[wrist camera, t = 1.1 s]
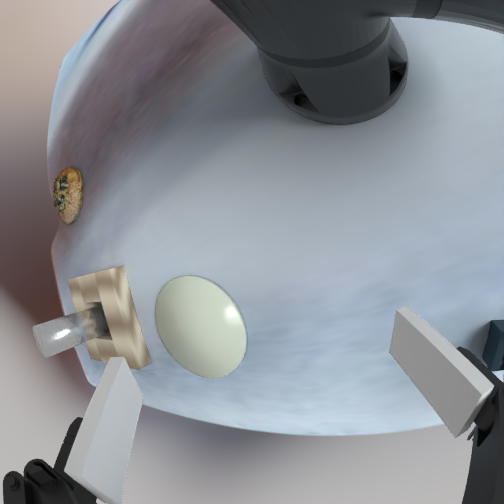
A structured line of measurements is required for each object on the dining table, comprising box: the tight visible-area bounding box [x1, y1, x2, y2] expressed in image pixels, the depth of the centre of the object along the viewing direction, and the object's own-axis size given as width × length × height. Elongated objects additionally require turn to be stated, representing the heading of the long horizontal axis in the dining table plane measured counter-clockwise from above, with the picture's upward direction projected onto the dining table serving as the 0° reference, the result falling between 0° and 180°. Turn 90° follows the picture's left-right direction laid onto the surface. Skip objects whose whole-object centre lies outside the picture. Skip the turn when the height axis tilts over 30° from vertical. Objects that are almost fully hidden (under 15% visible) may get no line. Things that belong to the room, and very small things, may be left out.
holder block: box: [68, 266, 151, 370], centre depth 42 cm, size 16×16×3 cm
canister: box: [33, 304, 110, 358], centre depth 36 cm, size 5×5×15 cm
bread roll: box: [53, 167, 83, 224], centre depth 43 cm, size 11×11×5 cm
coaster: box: [155, 275, 248, 378], centre depth 34 cm, size 14×14×1 cm
